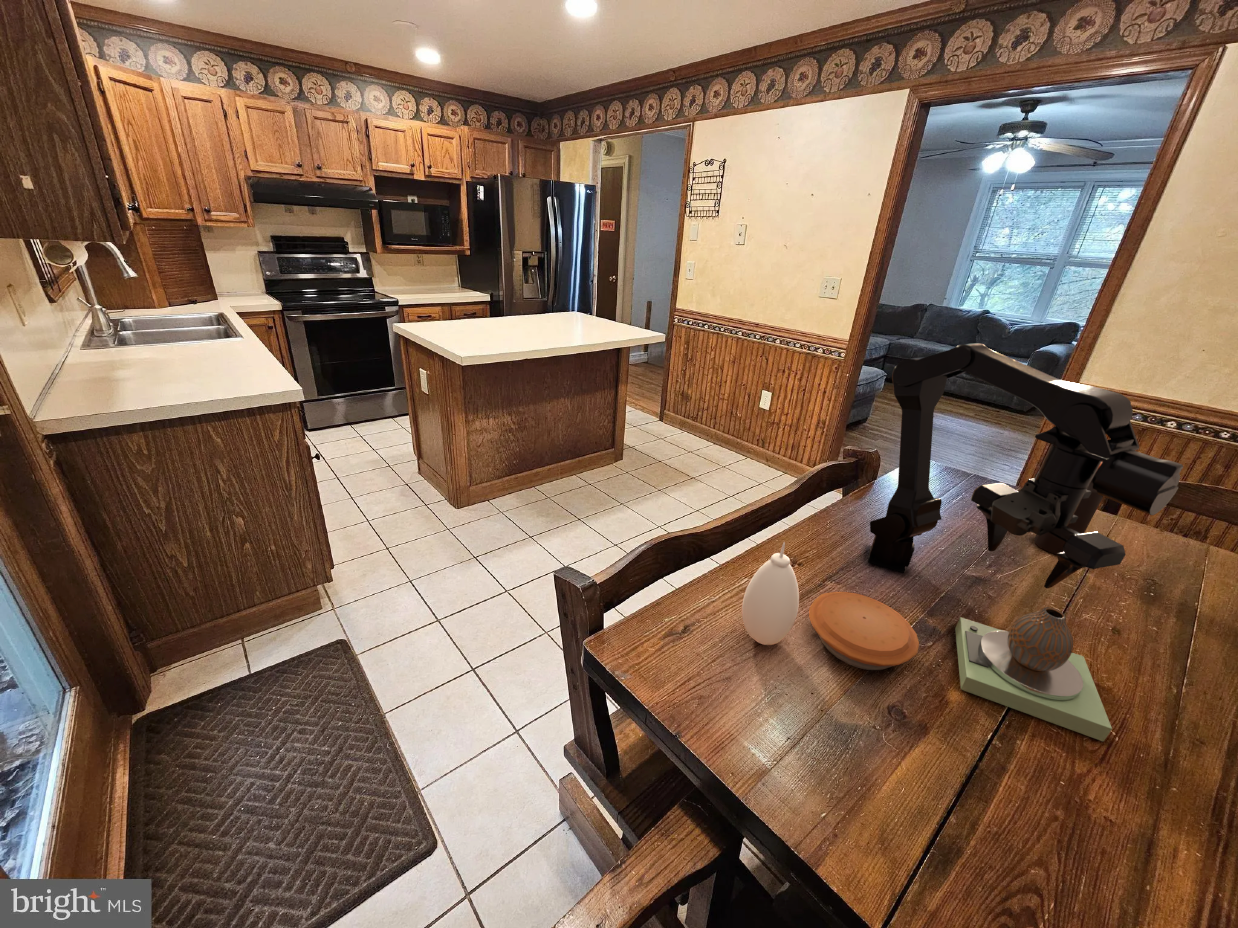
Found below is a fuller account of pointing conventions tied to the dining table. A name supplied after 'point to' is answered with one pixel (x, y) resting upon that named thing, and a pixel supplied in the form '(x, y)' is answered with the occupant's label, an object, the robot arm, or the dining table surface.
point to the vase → (1041, 640)
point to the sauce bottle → (771, 600)
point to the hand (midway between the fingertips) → (1017, 568)
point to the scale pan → (1029, 670)
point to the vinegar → (1084, 514)
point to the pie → (862, 630)
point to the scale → (985, 682)
